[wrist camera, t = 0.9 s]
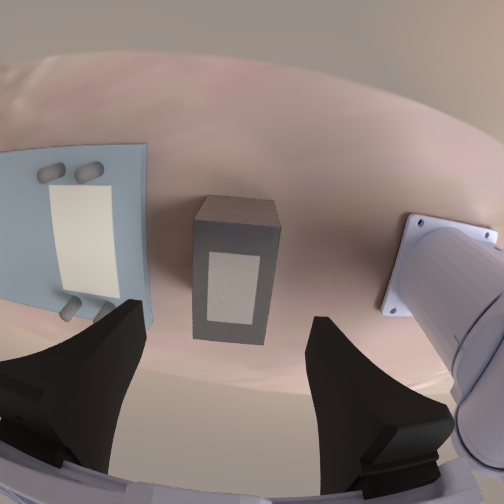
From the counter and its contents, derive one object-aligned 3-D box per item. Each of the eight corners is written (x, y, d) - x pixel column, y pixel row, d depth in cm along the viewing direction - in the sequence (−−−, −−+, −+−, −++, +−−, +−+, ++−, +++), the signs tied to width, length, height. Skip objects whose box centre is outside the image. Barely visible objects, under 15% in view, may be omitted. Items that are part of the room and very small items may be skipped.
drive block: (274, 200, 19) (281, 227, 14) (261, 298, 21) (263, 346, 17) (208, 194, 18) (193, 219, 14) (204, 293, 21) (192, 339, 17)
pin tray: (147, 143, 17) (128, 148, 14) (152, 321, 22) (141, 346, 19) (-41, 158, 16) (-63, 166, 14) (-18, 286, 21) (-35, 300, 19)
